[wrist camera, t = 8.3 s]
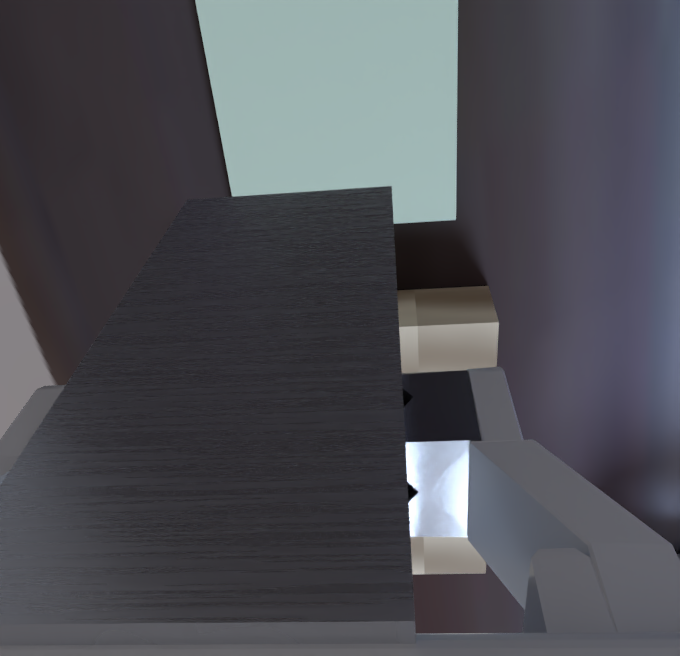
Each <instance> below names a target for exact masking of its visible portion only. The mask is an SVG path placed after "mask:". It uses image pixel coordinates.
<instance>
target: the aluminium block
mask: <svg viewBox="0 0 680 656" xmlns="http://www.w3.org/2000/svg"><path fill="white" fill-rule="evenodd" d="M209 644H416V636H415V614H414V595H413V577H412V558H411V539H410V520H409V502H408V483H407V464H406V446H405V427H404V408H403V390H402V371H401V352H400V334H399V315H398V296H397V277H396V259H395V240H394V221H393V203H392V186H384V187H369V188H354V189H339V190H324V191H309V192H294V193H279V194H265V195H250V196H235V197H220V198H205V199H190V200H187V201H186V202H185V204H184V205H183V207H182V208H181V210H180V211H179V213H178V214H177V216H176V218H175V219H174V221H173V222H172V224H171V225H170V227H169V228H168V230H167V231H166V233H165V234H164V236H163V237H162V239H161V240H160V242H159V244H158V245H157V247H156V248H155V250H154V251H153V253H152V254H151V256H150V257H149V259H148V260H147V262H146V263H145V265H144V266H143V268H142V269H141V271H140V273H139V274H138V276H137V277H136V279H135V280H134V282H133V283H132V285H131V286H130V288H129V289H128V291H127V292H126V294H125V295H124V297H123V299H122V300H121V302H120V303H119V305H118V306H117V308H116V309H115V311H114V312H113V314H112V315H111V317H110V318H109V320H108V321H107V323H106V324H105V326H104V328H103V329H102V331H101V332H100V334H99V335H98V337H97V338H96V340H95V341H94V343H93V344H92V346H91V347H90V349H89V350H88V352H87V354H86V355H85V357H84V358H83V360H82V361H81V363H80V364H79V366H78V367H77V369H76V370H75V372H74V373H73V375H72V376H71V378H70V379H69V381H68V383H67V384H66V386H65V387H64V389H63V390H62V392H61V393H60V395H59V396H58V398H57V399H56V401H55V402H54V404H53V405H52V407H51V409H50V410H49V412H48V413H47V415H46V416H45V418H44V419H43V421H42V422H41V424H40V425H39V427H38V428H37V430H36V431H35V433H34V435H33V436H32V438H31V439H30V441H29V442H28V444H27V445H26V447H25V448H24V450H23V451H22V453H21V454H20V456H19V457H18V459H17V460H16V462H15V464H14V465H13V467H12V468H11V470H10V471H9V473H8V474H7V476H6V477H5V479H4V480H3V482H2V483H1V485H0V645H209Z"/></svg>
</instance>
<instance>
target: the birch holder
mask: <svg viewBox="0 0 680 656" xmlns="http://www.w3.org/2000/svg"><path fill="white" fill-rule="evenodd" d="M397 296H398V315H399V334H400V352H401V371H402V373H417V372H439V371H460V370H467V369H475V368H489V367H496V366H497V347H498V328H499V321H498V318H497V314H496V311H495V307H494V304H493V300H492V297H491V294H490V290H489V287H488V286H474V287H454V288H435V289H416V290H397ZM410 539H411V558H412V574H477V573H486V562H485V560H484V559H483V558H482V557H481V555H480V554H479V553H478V552H477V551H476V549H475V548H474V547H473V546H472V544H471V543H470V542H469V541H468V537H410Z"/></svg>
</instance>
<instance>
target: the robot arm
mask: <svg viewBox="0 0 680 656" xmlns="http://www.w3.org/2000/svg"><path fill="white" fill-rule="evenodd" d="M65 386H66V385H57V386H44V387H41V388H39V389H37V390H36V391H35V392H34V394H33V395H32V396H31V398H30V399H29V401H28V402H27V403H26V405H25V406H24V407H23V409H22V410H21V412H20V413H19V414H18V416H17V417H16V419H15V420H14V421H13V423H12V424H11V425H10V427H9V428H8V430H7V431H6V432H5V434H4V435H3V437H2V438H1V439H0V485H1V483H2V482H3V480H4V479H5V477H6V476H7V474H8V473H9V471H10V470H11V468H12V467H13V465H14V464H15V462H16V460H17V459H18V457H19V456H20V454H21V453H22V451H23V450H24V448H25V447H26V445H27V444H28V442H29V441H30V439H31V438H32V436H33V435H34V433H35V431H36V430H37V428H38V427H39V425H40V424H41V422H42V421H43V419H44V418H45V416H46V415H47V413H48V412H49V410H50V409H51V407H52V405H53V404H54V402H55V401H56V399H57V398H58V396H59V395H60V393H61V392H62V390H63V389H64V387H65ZM402 390H403V408H404V427H405V446H406V464H407V483H408V502H409V520H410V537H468V541H469V542H470V543H471V544H472V546H473V547H474V548H475V549H476V551H477V552H478V553H479V554H480V555H481V557H482V558H483V559H484V560H485V562H486V563H487V564H488V565H489V567H490V568H491V569H492V570H493V572H494V573H495V574H496V575H497V576H498V578H499V579H500V580H501V581H502V583H503V584H504V585H505V586H506V588H507V589H508V590H509V591H510V593H511V594H512V595H513V596H514V597H515V599H516V600H517V601H518V602H519V604H520V605H521V606H522V607H523V609H524V610H525V614H524V623H523V632H522V633H439V634H415V636H416V644H209V645H0V656H680V560H679V558H678V556H677V554H676V552H675V550H674V547H673V545H672V544H671V543H670V542H668V541H667V540H666V539H664V538H663V537H662V536H660V535H659V534H658V533H656V532H655V531H654V530H652V529H651V528H650V527H648V526H647V525H646V524H644V523H643V522H642V521H640V520H639V519H638V518H637V517H635V516H634V515H633V514H631V513H630V512H629V511H627V510H626V509H625V508H623V507H622V506H621V505H619V504H618V503H617V502H615V501H614V500H613V499H611V498H610V497H609V496H607V495H606V494H605V493H603V492H602V491H601V490H600V489H598V488H597V487H596V486H594V485H593V484H592V483H590V482H589V481H588V480H586V479H585V478H584V477H582V476H581V475H580V474H578V473H577V472H576V471H574V470H573V469H572V468H570V467H569V466H568V465H566V464H565V463H564V462H563V461H561V460H560V459H559V458H557V457H556V456H555V455H553V454H552V453H551V452H549V451H548V450H547V449H545V448H544V447H543V446H541V445H540V444H539V443H537V442H536V441H535V440H523V437H522V433H521V430H520V426H519V423H518V419H517V416H516V412H515V408H514V405H513V401H512V398H511V394H510V391H509V387H508V384H507V380H506V376H505V373H504V370H503V369H502V368H501V367H489V368H475V369H467V370H460V371H439V372H417V373H402Z"/></svg>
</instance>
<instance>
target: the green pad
mask: <svg viewBox="0 0 680 656" xmlns="http://www.w3.org/2000/svg"><path fill="white" fill-rule="evenodd" d="M195 2H196V7H197V13H198V18H199V23H200V29H201V34H202V39H203V45H204V50H205V55H206V61H207V66H208V71H209V77H210V82H211V87H212V92H213V98H214V103H215V108H216V114H217V119H218V124H219V130H220V135H221V140H222V146H223V151H224V156H225V162H226V167H227V172H228V178H229V183H230V188H231V193H232V197H235V196H250V195H265V194H279V193H294V192H309V191H324V190H339V189H354V188H369V187H384V186H392V203H393V221H394V224H397V223H413V222H429V221H446V220H456V161H457V53H458V0H195Z"/></svg>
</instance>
